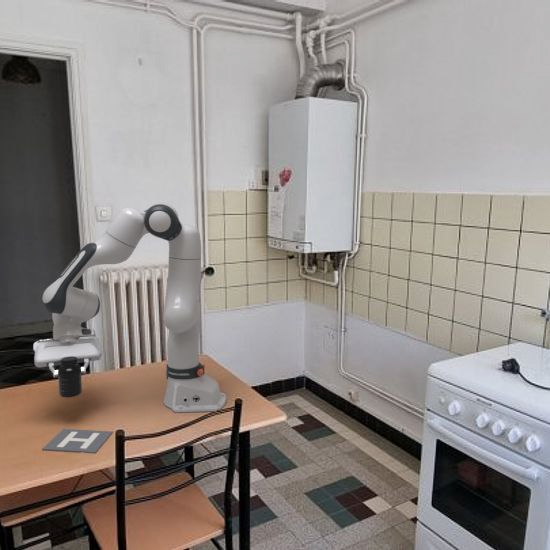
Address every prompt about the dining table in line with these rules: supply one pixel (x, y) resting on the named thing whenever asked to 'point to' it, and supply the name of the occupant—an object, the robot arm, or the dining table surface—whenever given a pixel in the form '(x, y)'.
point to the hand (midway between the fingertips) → (69, 374)
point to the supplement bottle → (69, 377)
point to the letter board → (78, 441)
